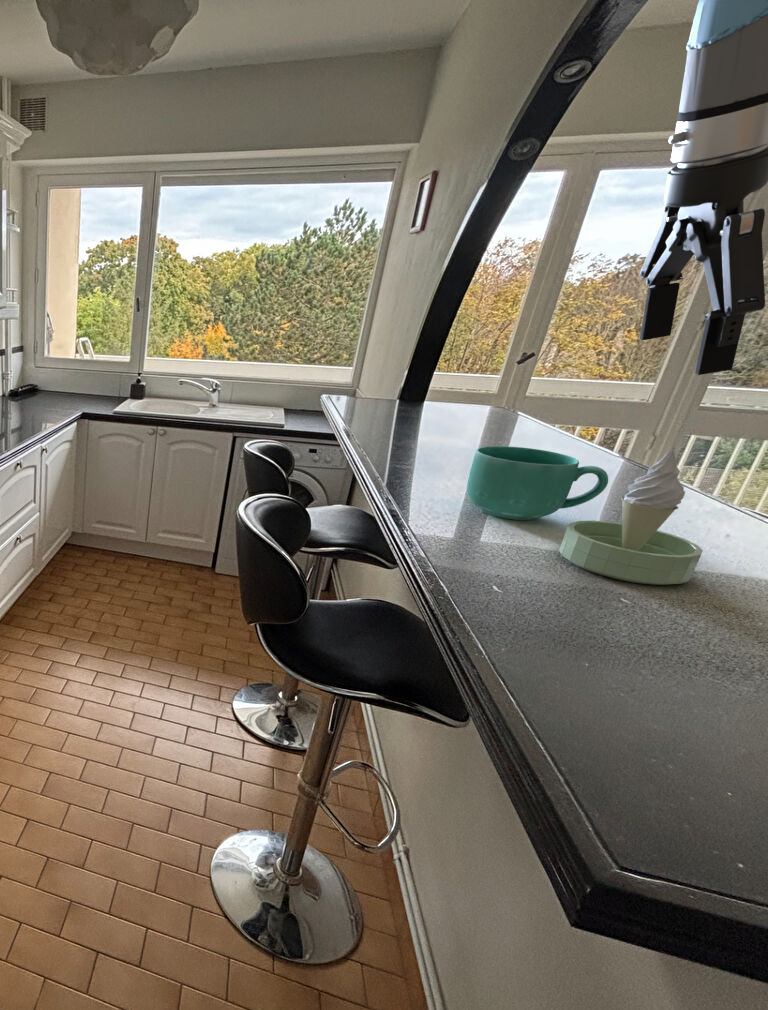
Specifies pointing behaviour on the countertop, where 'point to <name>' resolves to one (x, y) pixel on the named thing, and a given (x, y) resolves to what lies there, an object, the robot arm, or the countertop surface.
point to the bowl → (629, 554)
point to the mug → (526, 482)
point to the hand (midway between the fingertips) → (681, 353)
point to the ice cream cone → (650, 502)
